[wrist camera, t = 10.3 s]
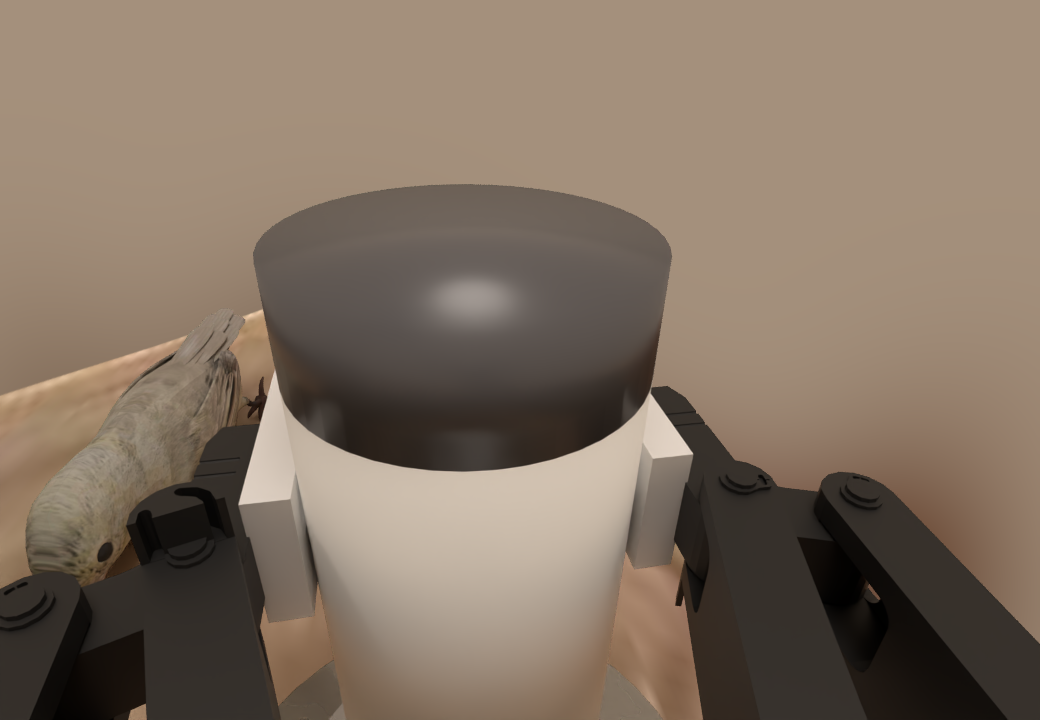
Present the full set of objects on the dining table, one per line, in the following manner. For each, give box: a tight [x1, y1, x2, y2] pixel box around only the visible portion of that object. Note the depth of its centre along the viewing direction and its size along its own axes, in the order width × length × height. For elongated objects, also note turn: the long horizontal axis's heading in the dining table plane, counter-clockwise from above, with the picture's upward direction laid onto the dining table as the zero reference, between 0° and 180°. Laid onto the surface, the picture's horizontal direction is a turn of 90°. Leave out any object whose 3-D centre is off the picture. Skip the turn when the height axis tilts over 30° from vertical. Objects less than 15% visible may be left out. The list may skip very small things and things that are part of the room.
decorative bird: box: [26, 308, 267, 587], centre depth 31 cm, size 5×16×7 cm, turn 174°
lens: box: [253, 184, 672, 720], centre depth 12 cm, size 6×6×12 cm
